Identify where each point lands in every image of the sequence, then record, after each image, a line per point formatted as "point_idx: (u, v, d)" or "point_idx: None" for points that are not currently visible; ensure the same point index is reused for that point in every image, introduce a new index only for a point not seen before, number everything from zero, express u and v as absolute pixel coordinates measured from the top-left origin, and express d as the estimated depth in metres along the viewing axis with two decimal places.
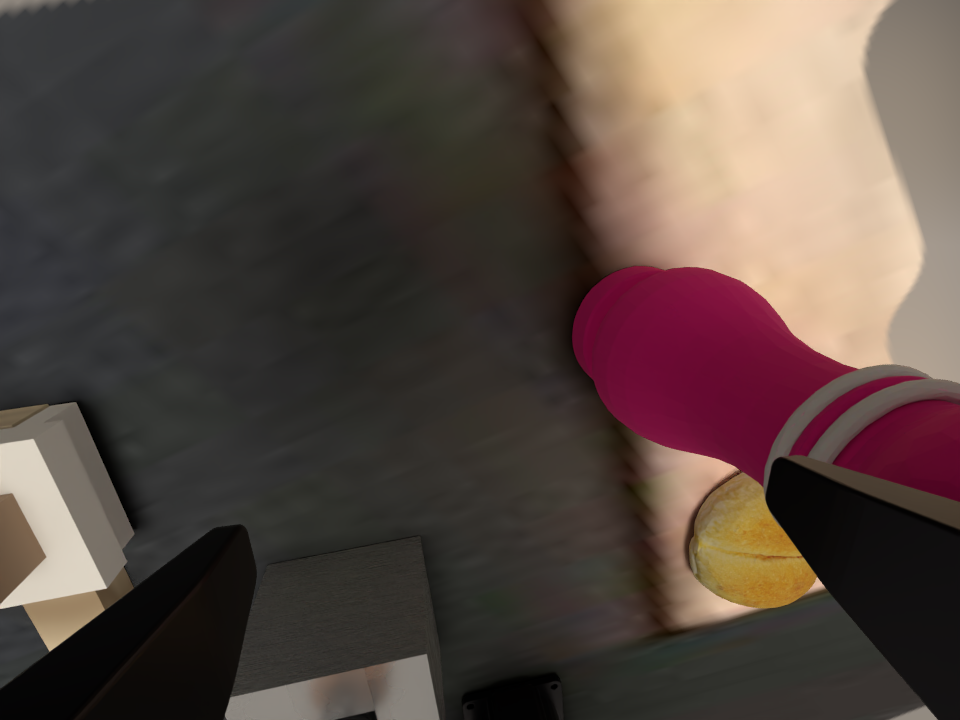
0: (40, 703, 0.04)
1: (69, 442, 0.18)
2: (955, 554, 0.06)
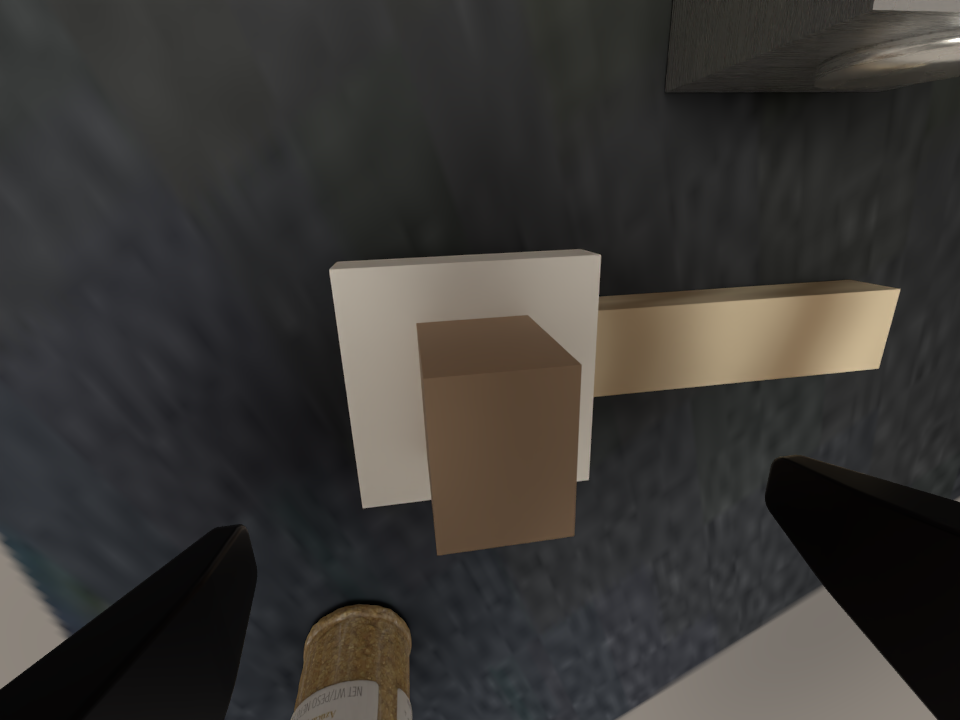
0: (41, 703, 0.04)
1: (371, 260, 0.13)
2: (955, 554, 0.06)
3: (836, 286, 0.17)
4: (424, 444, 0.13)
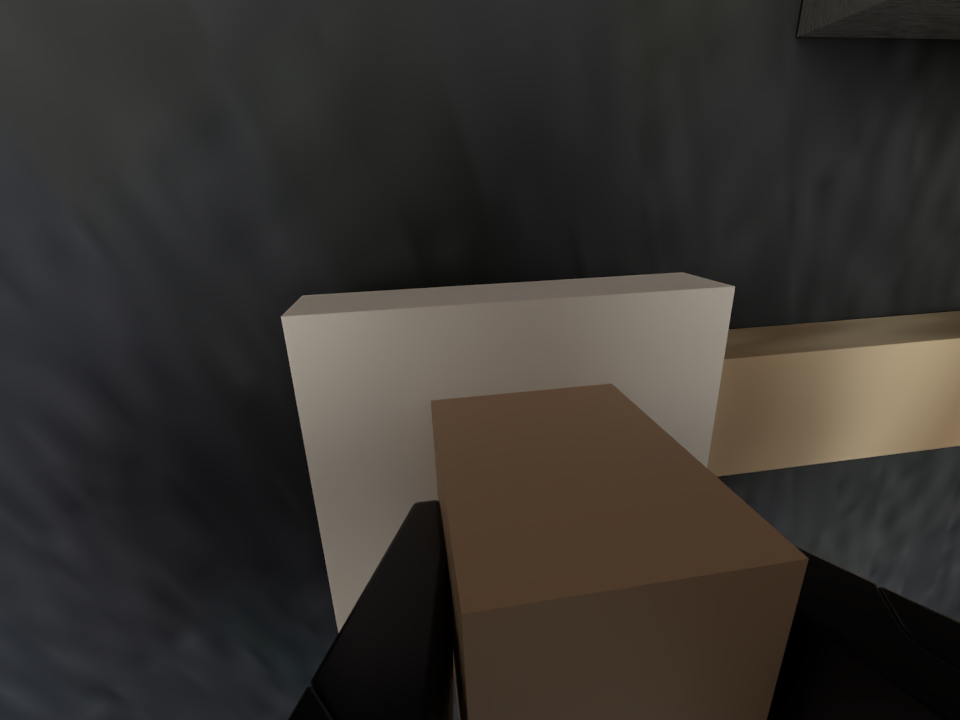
0: (390, 645, 0.04)
1: (357, 293, 0.08)
2: None
3: None
4: None
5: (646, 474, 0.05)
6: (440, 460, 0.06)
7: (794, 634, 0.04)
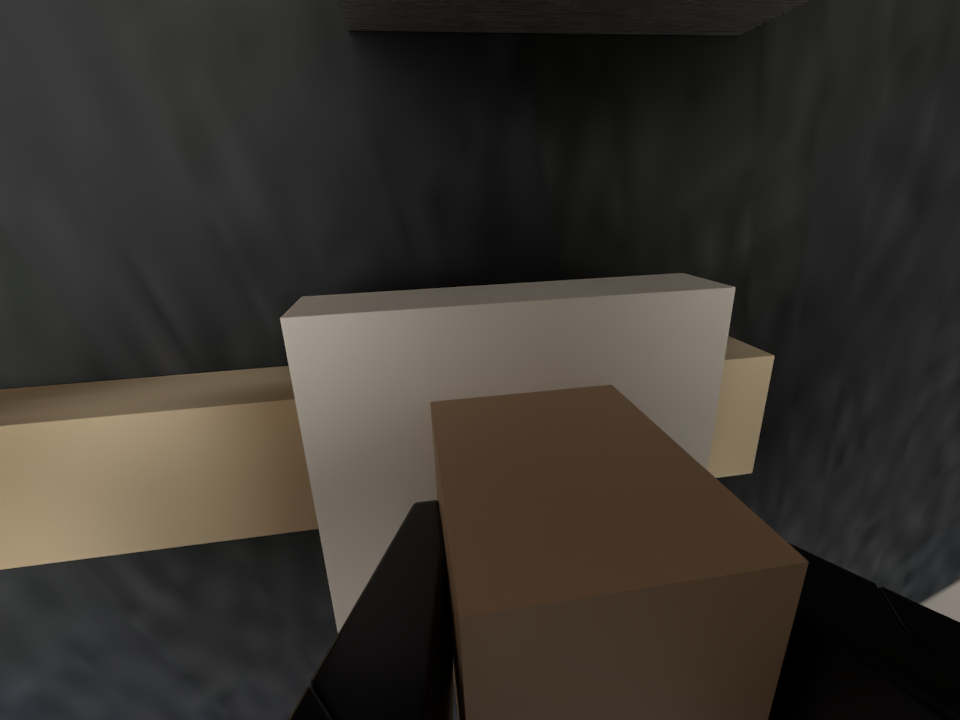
0: (389, 645, 0.04)
1: (356, 294, 0.08)
2: None
3: None
4: None
5: (646, 476, 0.05)
6: (439, 462, 0.06)
7: (794, 634, 0.04)
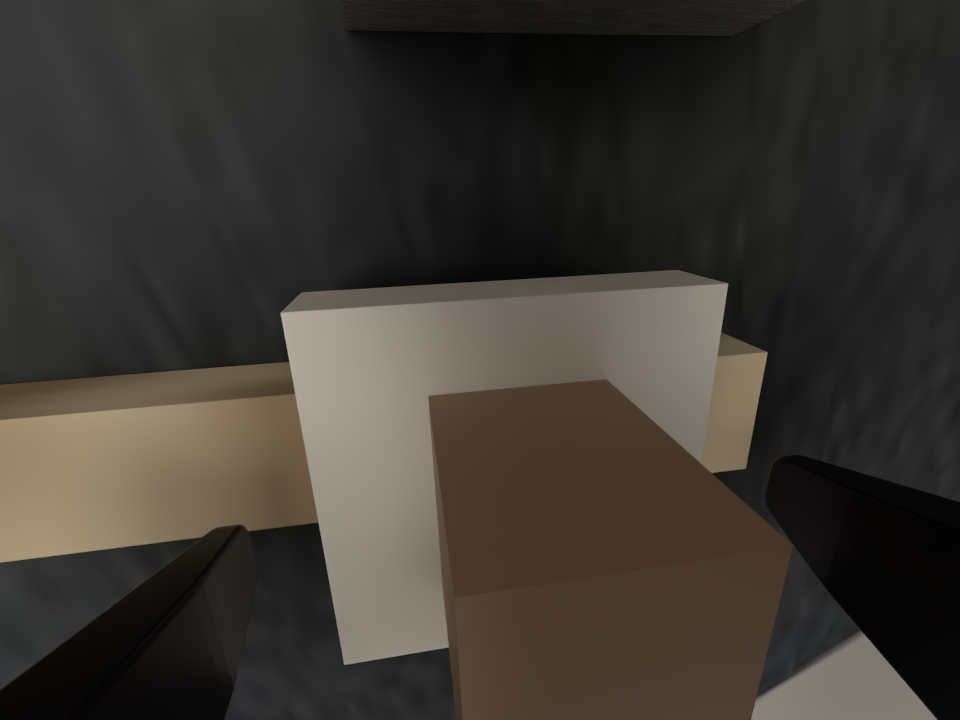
0: (41, 703, 0.04)
1: (355, 290, 0.08)
2: (955, 554, 0.06)
3: None
4: (439, 573, 0.09)
5: (638, 466, 0.05)
6: (436, 452, 0.06)
7: None
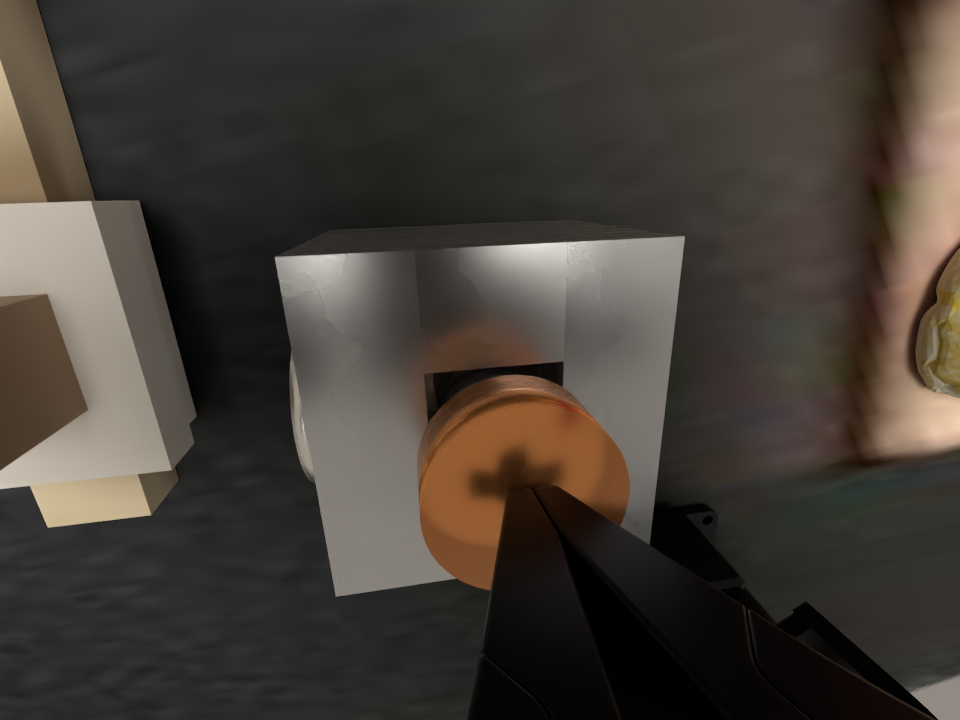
0: (544, 619, 0.05)
1: (135, 238, 0.12)
2: (619, 610, 0.05)
3: None
4: None
5: None
6: None
7: (651, 660, 0.04)
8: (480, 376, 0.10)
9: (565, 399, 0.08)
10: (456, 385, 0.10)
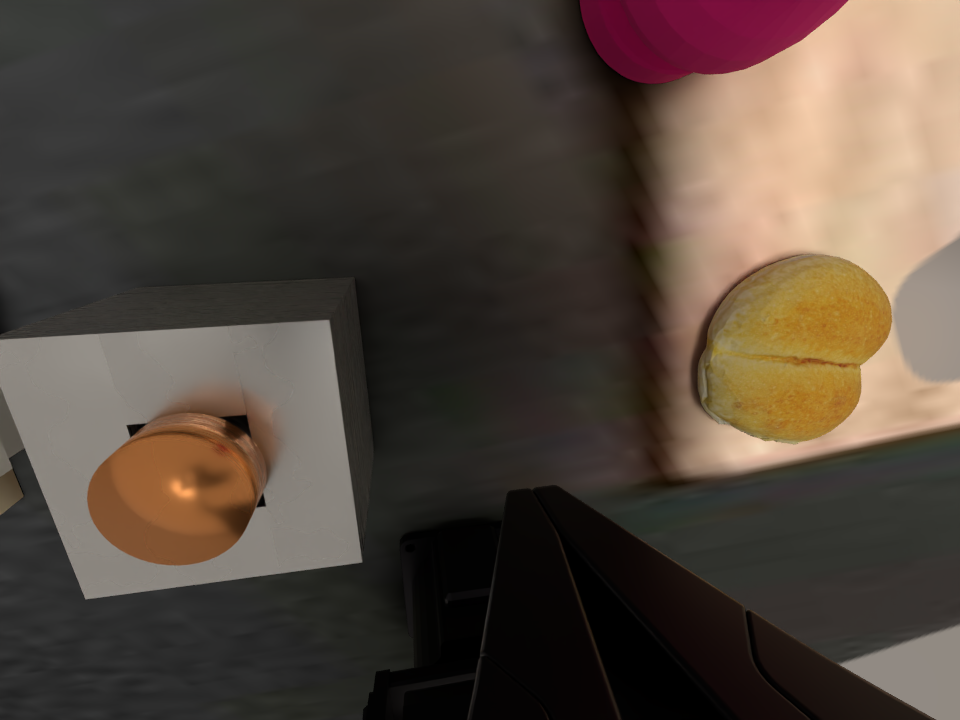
0: (544, 620, 0.05)
1: None
2: (620, 611, 0.05)
3: None
4: None
5: None
6: None
7: (651, 660, 0.04)
8: None
9: (204, 432, 0.12)
10: None
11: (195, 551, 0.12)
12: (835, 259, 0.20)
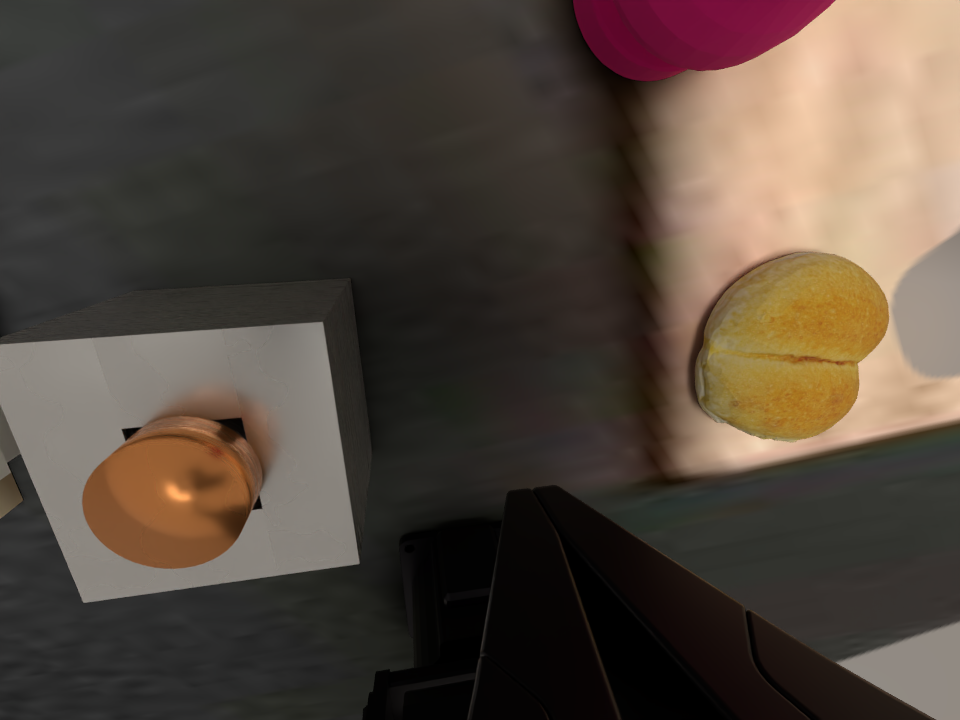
0: (544, 619, 0.05)
1: None
2: (620, 610, 0.05)
3: None
4: None
5: None
6: None
7: (651, 660, 0.04)
8: None
9: (198, 435, 0.12)
10: None
11: (191, 554, 0.12)
12: (831, 257, 0.20)
